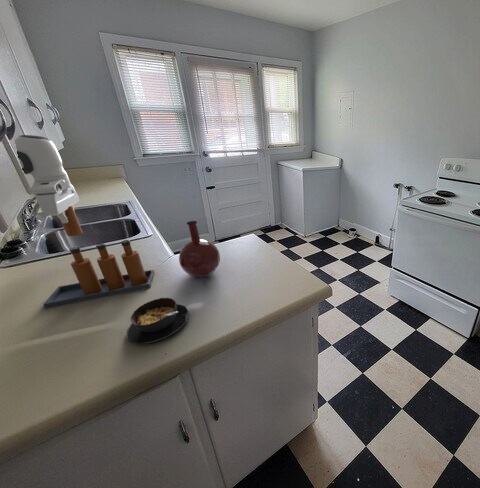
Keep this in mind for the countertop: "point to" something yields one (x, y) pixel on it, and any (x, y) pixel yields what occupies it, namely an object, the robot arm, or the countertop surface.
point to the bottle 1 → (85, 273)
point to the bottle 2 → (109, 268)
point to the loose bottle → (72, 223)
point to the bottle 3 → (133, 264)
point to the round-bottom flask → (198, 254)
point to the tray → (76, 294)
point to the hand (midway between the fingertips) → (69, 220)
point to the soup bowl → (156, 320)
